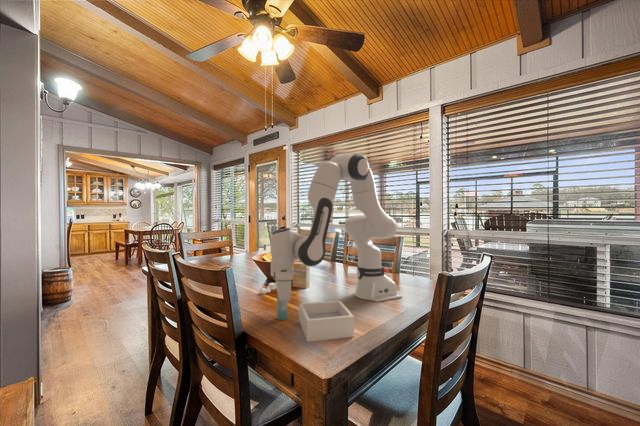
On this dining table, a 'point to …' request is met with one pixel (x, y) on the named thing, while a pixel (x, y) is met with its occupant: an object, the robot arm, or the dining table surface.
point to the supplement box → (301, 275)
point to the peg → (281, 314)
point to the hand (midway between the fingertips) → (282, 305)
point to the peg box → (326, 321)
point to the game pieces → (268, 288)
